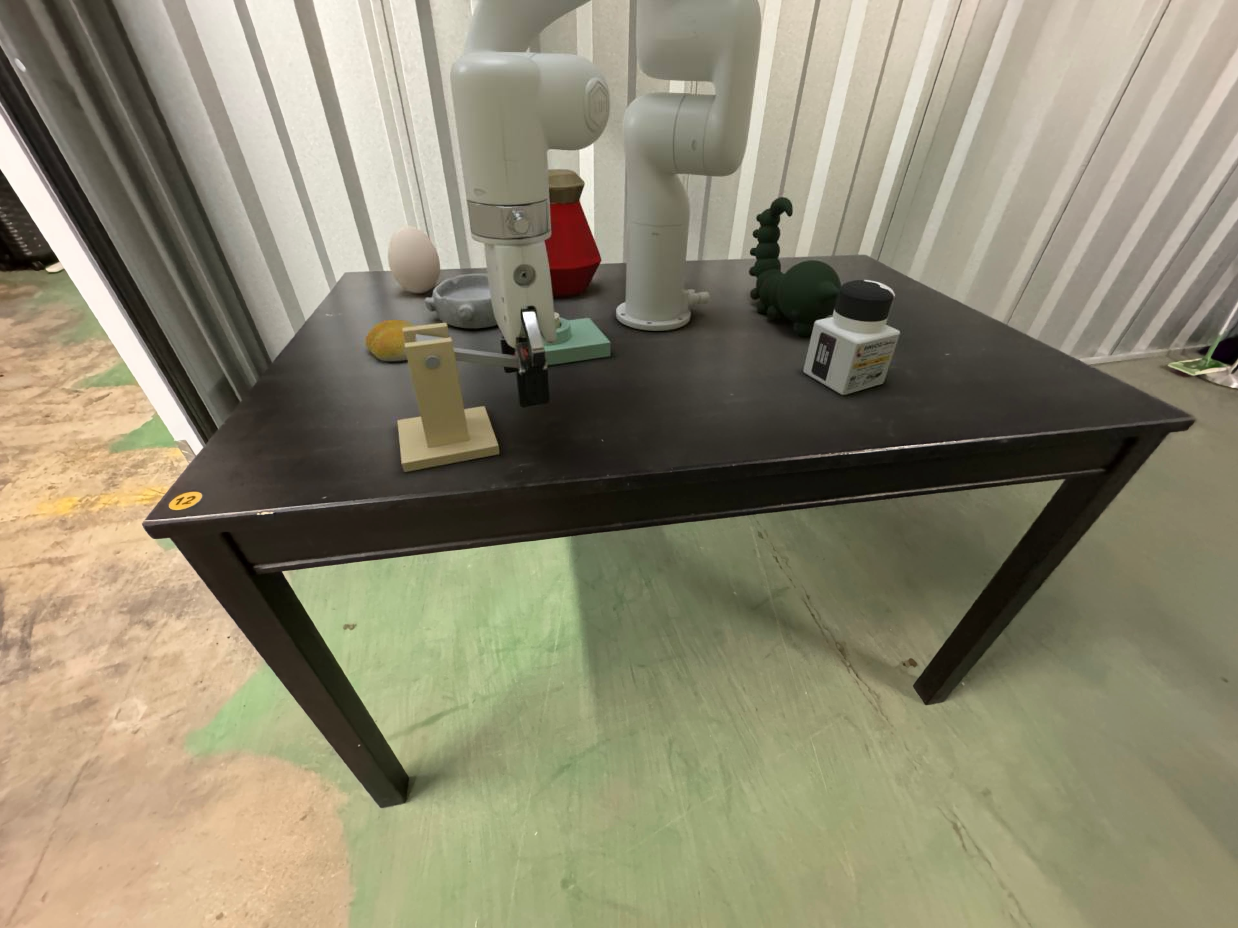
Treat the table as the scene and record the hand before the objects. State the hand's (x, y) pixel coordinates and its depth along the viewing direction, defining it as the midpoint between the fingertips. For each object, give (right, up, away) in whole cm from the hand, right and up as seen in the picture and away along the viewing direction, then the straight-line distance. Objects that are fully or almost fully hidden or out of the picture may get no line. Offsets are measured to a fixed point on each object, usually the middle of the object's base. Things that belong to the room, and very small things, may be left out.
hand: (525, 385), depth 62 cm
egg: (-26, +23, +40) cm, 53 cm away
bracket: (-9, -6, 0) cm, 11 cm away
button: (0, +11, +18) cm, 21 cm away
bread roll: (-22, +8, +20) cm, 31 cm away
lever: (-5, +1, -3) cm, 6 cm away
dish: (-13, +16, +31) cm, 37 cm away
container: (+41, +3, +15) cm, 44 cm away
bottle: (0, +24, +42) cm, 48 cm away
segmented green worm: (+39, +16, +32) cm, 52 cm away
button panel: (+2, +9, +21) cm, 23 cm away
